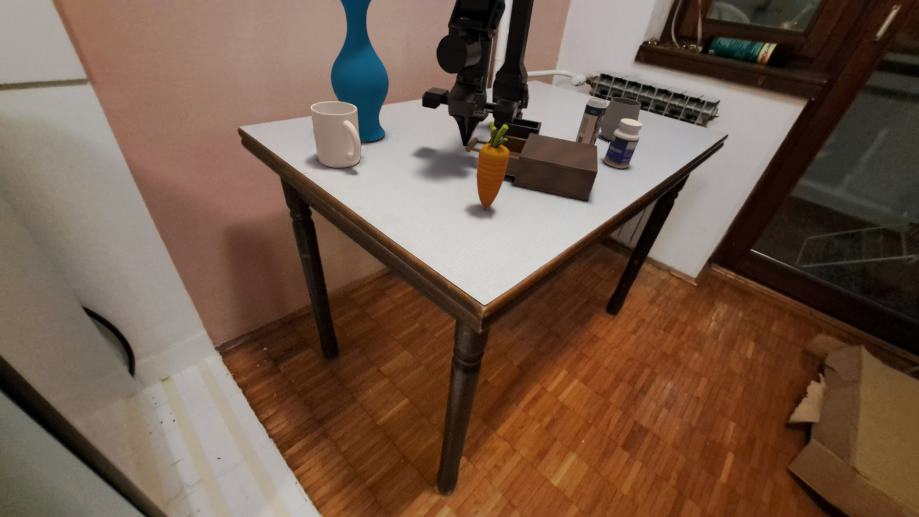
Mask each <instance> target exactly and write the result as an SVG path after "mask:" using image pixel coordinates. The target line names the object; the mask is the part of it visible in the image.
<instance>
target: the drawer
mask: <svg viewBox="0 0 919 517" xmlns="http://www.w3.org/2000/svg"><path fill="white" fill-rule="evenodd" d="M498 132H499V131H496V133H495V138H496V135H497V133H498ZM505 138H507V139H508V140H507V141H506V142H504V146H505V147H506V148H508V150H509V153H510V154H509V160H508V164H507V169H506V173H505V176H509V177H514V178H515V175H516V170H517V165H518V160H519V156H520V154H521V151H522V149H523V147H524V145H525V143H526V141H527V139H522V138H517V137H512V136H507V135H506V136H505ZM487 143H491V138H490V139H489V140H488V141H486V140H483V139H482V140H481V139H479V138H478V137H476V136H474V137H472V138H471V140H470V142H469V144H468V145H467V146H466V147H464V150H465V152H466V153H471V152H475V153H479V151H480V149H481V148H477V147H476V146H477V144H479V145H485V144H487Z"/></svg>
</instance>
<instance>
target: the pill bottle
mask: <svg viewBox="0 0 919 517" xmlns="http://www.w3.org/2000/svg"><path fill="white" fill-rule="evenodd" d="M642 127H643V123H642V122H641V121H639V120H638V121H636V120H633V119H621V121H620V123H619V128H618V129H616V130H615V131H614V133H613V136H612V139H611V141H610V142H609V144H608V147H607V150H606V153H605V156H604V159H603V161H604V163H605V164H606V165H608V166H610V167H613V168H616V169H625V168H628V167H629V165H630V163H631V161H632V158H633V155H634V153H635V150H636V148H637V146H638V143H639V140H640V138H641V136H640V133H639V132H640V131H641V130H642Z"/></svg>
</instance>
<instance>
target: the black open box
mask: <svg viewBox="0 0 919 517" xmlns="http://www.w3.org/2000/svg"><path fill="white" fill-rule="evenodd" d="M542 123H543V121H536V120H530V119H525V118H522V119H521V118H515V119H514V120H513V122H512V123H505V125H507V126H508V129H507V131H506V132H505V134H504V135H503V136H502V137H501V140H502V139H503V138H505V136H506V135H507V136H512V137H517V138H522V139H527V138H528V136H529V134H530V133H533V134H538V135H540V133H541V128H542ZM502 145H503V146H504V143H503V144H502Z"/></svg>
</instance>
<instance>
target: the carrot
mask: <svg viewBox="0 0 919 517" xmlns="http://www.w3.org/2000/svg"><path fill="white" fill-rule="evenodd" d="M488 124H489V132H490V139H491V143H487V144H485V145H484V144H482V147H481V148H479V149H480V151H479V152H478V158H477V166H476V167H477V169H476V188H477V194H478V198H479V202H480V204H481V206H482V208H483V209H485V210H487V209H489V208H490V206H492V204H493V203H494V201H495V199H497V196H498V195H499V192H500V190H501V187H502V185H503V182H504V180H505V177H506V175H505V173H506V169H507V164H508V160H509V154H510V153H509V150H508V148H506V147H505V146H503V145H502V144H503V143H504V142H506V141H507V140H508V139H507V138H503V139H502V137H503V135H504V134H505V132H506V131H507V129H508V126H507V125H503V126H502V127H501V129H500V130H499V129H498V131H497V129H496V127H494V120H492V121H489V122H488ZM496 132H498V133H497V135H496V138H495V133H496Z"/></svg>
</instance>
